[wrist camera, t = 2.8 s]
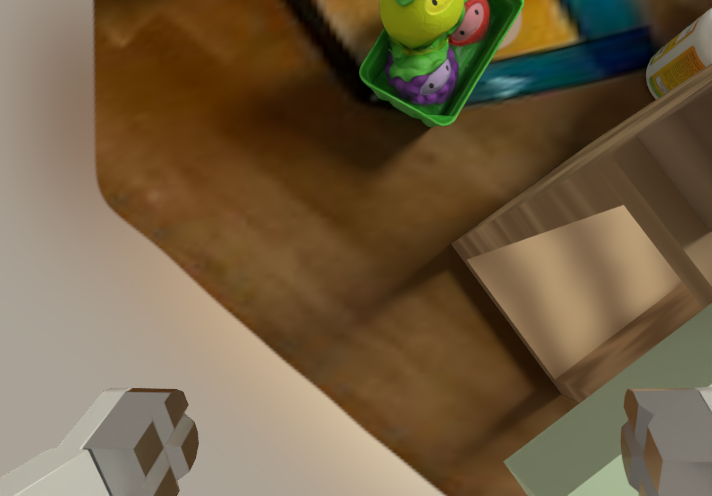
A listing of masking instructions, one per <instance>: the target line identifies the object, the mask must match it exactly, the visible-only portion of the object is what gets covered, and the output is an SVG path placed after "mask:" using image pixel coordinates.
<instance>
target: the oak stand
mask: <svg viewBox="0 0 712 496" xmlns="http://www.w3.org/2000/svg"><path fill="white" fill-rule="evenodd" d="M711 80H712V64H710V65H708V66H707V67H705V68H704V69H702V70H701V71H699V72H698V73H696V74H695V75H693V76H692V77H690V78H689V79H687V80H686V81H684V82H682V83H681V84H679V85H678V86H676V87H675V88H673V89H672V90H670V91H669V92H667V93H666V94H664V95H663V96H661V97H660V98H658V99H656V100H655V101H653V102H652V103H650V104H649V105H647V106H646V107H644V108H643V109H641V110H640V111H638V112H637V113H635V114H634V115H632V116H630V117H629V118H627V119H626V120H624V121H623V122H621V123H620V124H618V125H617V126H615V127H614V128H612V129H611V130H609V131H608V132H606V133H605V134H603V135H601V136H600V137H598V138H597V139H595V140H594V141H592V142H591V143H590V144H588V145H587V146H585V147H584V148H583V149H581V150H580V151H579V152H577V153H576V154H574V155H573V156H572V157H570V158H569V159H568V160H566V161H565V162H563V163H562V164H561V165H559V166H558V167H556V168H555V169H554V170H552V171H551V172H550V173H548V174H547V175H545V176H544V177H543V178H541V179H540V180H538V181H537V182H536V183H534V184H533V185H532V186H530V187H529V188H527V189H526V190H525V191H523V192H522V193H520V194H519V195H518V196H516V197H515V198H514V199H512V200H511V201H509V202H508V203H507V204H505V205H504V206H502V207H501V208H500V209H498V210H497V211H496V212H494V213H493V214H491V215H490V216H489V217H487V218H486V219H485V220H483V221H482V222H480V223H479V224H478V225H476V226H475V227H473V228H472V229H471V230H469V231H468V232H467V233H465V234H464V235H462V236H461V237H460V238H458V239H457V240H455V241H454V242H453V243H451V245H452V246H453V248H454V249H455V250H456V252H457V253H458V254H459V256H460V257H461V259H462V260H463V261H464V263H465V264H466V265H467V267H468V268H469V269H470V271H471V272H472V273H473V275H474V276H475V278H476V279H477V280H478V282H479V283H480V284H481V286H482V287H483V288H484V290H485V291H486V293H487V294H488V295H489V297H490V298H491V299H492V301H493V302H494V303H495V305H496V306H497V307H498V309H499V310H500V312H501V313H502V314H503V316H504V317H505V318H506V320H507V321H508V322H509V324H510V325H511V326H512V328H513V329H514V331H515V332H516V333H517V335H518V336H519V337H520V339H521V340H522V341H523V343H524V344H525V346H526V347H527V348H528V350H529V351H530V352H531V354H532V355H533V356H534V358H535V359H536V360H537V362H538V363H539V365H540V366H541V367H542V369H543V370H544V371H545V373H546V374H547V375H548V377H549V378H550V380H551V381H552V382H553V384H554V385H555V386H556V388H557V389H558V390H559V392H560V393H561V394H562V395H563V396H565V397H568V398H570V399H572V400H574V401H577V402H579V403H581V402H582V401H584V400H585V399H586V398H588V397H589V396H590V395H592V394H593V393H594V392H595V391H597V390H598V389H599V388H601V387H602V386H603V385H605V384H606V383H607V382H609V381H610V380H611V379H613V378H614V377H615V376H616V375H618V374H619V373H620V372H622V371H623V370H624V369H626V368H627V367H628V366H630V365H631V364H632V363H634V362H635V361H636V360H638V359H639V358H640V357H641V356H643V355H644V354H645V353H647V352H648V351H649V350H651V349H652V348H653V347H655V346H656V345H657V344H659V343H660V342H661V341H662V340H664V339H665V338H666V337H668V336H669V335H670V334H672V333H673V332H674V331H676V330H677V329H678V328H680V327H681V326H682V325H684V324H685V323H686V322H687V321H689V320H690V319H691V318H693V317H694V316H695V315H697V314H698V313H699V312H701V311H702V310H703V309H705V308H706V307H707V306H708V305H710V304H711V303H712V232H711V231H710V230H709V229H708V228H707V226H706V225H705V224H704V222H703V221H702V220H701V219H700V217H699V216H698V215H697V213H696V212H695V211H694V210H693V208H692V207H691V206H690V204H689V203H688V202H687V201H686V199H685V198H684V197H683V195H682V194H681V193H680V192H679V190H678V189H677V188H676V186H675V185H674V184H673V183H672V181H671V180H670V179H669V177H668V176H667V175H666V174H665V172H664V171H663V170H662V168H661V167H660V166H659V165H658V163H657V162H656V161H655V159H654V158H653V157H652V156H651V154H650V153H649V152H648V150H647V149H646V148H645V147H644V145H643V144H642V143H641V141H640V140H639V139H638V138H637V136H636V135H637V134H638V133H639V132H641V131H642V130H644V129H645V128H646V127H648V126H649V125H650V124H652V123H653V122H655V121H656V120H657V119H659V118H660V117H661V116H663V115H664V114H666V113H667V112H668V111H670V110H671V109H672V108H674V107H675V106H677V105H678V104H679V103H681V102H682V101H683V100H685V99H686V98H688V97H689V96H690V95H692V94H693V93H694V92H696V91H697V90H699V89H700V88H701V87H703V86H704V85H705V84H707V83H708V82H710V81H711Z"/></svg>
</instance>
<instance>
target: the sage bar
mask: <svg viewBox="0 0 712 496" xmlns="http://www.w3.org/2000/svg"><path fill="white" fill-rule="evenodd" d="M695 387H712V303H711V304H710V305H708V306H707V307H706V308H705V309H703V310H702V311H701V312H699V313H698V314H697V315H695V316H694V317H693V318H691V319H690V320H689V321H687V322H686V323H685V324H684V325H682V326H681V327H680V328H678V329H677V330H676V331H674V332H673V333H672V334H670V335H669V336H668V337H666V338H665V339H664V340H662V341H661V342H660V343H659V344H657V345H656V346H655V347H653V348H652V349H651V350H649V351H648V352H647V353H645V354H644V355H643V356H641V357H640V358H639V359H638V360H636V361H635V362H634V363H632V364H631V365H630V366H628V367H627V368H626V369H624V370H623V371H622V372H620V373H619V374H618V375H616V376H615V377H614V378H613V379H611V380H610V381H609V382H607V383H606V384H605V385H603V386H602V387H601V388H599V389H598V390H597V391H595V392H594V393H593V394H592V395H590V396H589V397H588V398H586V399H585V400H584V401H582V402H581V403H580V404H578V405H577V406H576V407H574V408H573V409H572V410H571V411H569V412H568V413H567V414H565V415H564V416H563V417H561V418H560V419H559V420H557V421H556V422H555V423H553V424H552V425H551V426H549V427H548V428H547V429H546V430H544V431H543V432H542V433H540V434H539V435H538V436H536V437H535V438H534V439H532V440H531V441H530V442H528V443H527V444H526V445H525V446H523V447H522V448H521V449H519V450H518V451H517V452H515V453H514V454H513V455H511V456H510V457H509V458H507V459H506V460H505V461H504V463H505V465H506V466H507V467H508V469H509V470H510V472H511V473H512V474H513V476H514V477H515V479H516V480H517V481H518V483H519V484H520V485H521V487H522V488H523V490H524V491H525V492H526V494H527V495H528V496H639V492H638V491H636V490H635V489H634V488H633V487H632V486H630V485H629V483H628V480H627V477H626V474H625V470H624V466H623V461H622V454H621V427H622V426H623V425H624V424H625V423H626V422H627V421H628V417H627V415H626V412H625V409H624V399H625V394H626V391H627V389H644V388H691V389H692V388H695Z"/></svg>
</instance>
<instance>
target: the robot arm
mask: <svg viewBox="0 0 712 496" xmlns="http://www.w3.org/2000/svg"><path fill="white" fill-rule="evenodd" d="M187 407H188V403H187V400H186V397H185V395H184V392H182V391H180V390H177V389H147V388H132V389H126V388H110V389H108V390H105V391H103V392H102V393H101V394H100V396H99V397H98V398H97V399H96V401H95V402H94V403H93V404H92V405H91V407H90V408H89V409H88V410H87V412H86V413H85V414H84V415H83V416H82V418H81V419H80V420H79V421H78V422H77V424H76V425H75V426H74V427H73V428H72V430H71V431H70V432H69V433H68V435H67V436H66V437H65V438H64V440H63V441H62V442H61V443H60V444H59V446H58V447H57V448H56V449H47V450H46V451H44V452H42V453H41V454H39V455H37V456H36V457H34V458H32V459H31V460H29V461H27V462H26V463H24V464H22V465H21V466H19V467H17V468H15V469H14V470H12V471H11V472H9V473H7V474H5V475H4V476H2V477H0V496H177V495H178V493H179V486H178V482H177V480H179V479H180V478H181V477H182V476H184V475H185V474H187V473H188V472H189V471H190V469H191V467H192V465H193V463H194V461H195V459H196V455H197V449H198V444H199V442H198V431H197V428H196V425H195V422H194V421H193V420H192V419H190V418H189V417H188V416H187V415H186V414H185V411H186V409H187ZM624 409H625V412H626V415H627V417H628V421H627V422H626V423H625V424H624V425H623V426H622V427H621V454H622V461H623V466H624V470H625V474H626V477H627V480H628V483H629V485H630V486H632V487H633V488H634V489H635V490H636V491H638V492H639V496H712V387H695V388H692V389H691V388H644V389H627V391H626V394H625V399H624Z"/></svg>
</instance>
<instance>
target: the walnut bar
mask: <svg viewBox="0 0 712 496" xmlns="http://www.w3.org/2000/svg"><path fill="white" fill-rule="evenodd" d="M636 136H637V138H638V139H639V140H640V141H641V143H642V144H643V145H644V147H645V148H646V149H647V150H648V152H649V153H650V154H651V156H652V157H653V158H654V159H655V161H656V162H657V163H658V165H659V166H660V167H661V168H662V170H663V171H664V172H665V174H666V175H667V176H668V177H669V179H670V180H671V181H672V183H673V184H674V185H675V186H676V188H677V189H678V190H679V192H680V193H681V194H682V195H683V197H684V198H685V199H686V201H687V202H688V203H689V204H690V206H691V207H692V208H693V210H694V211H695V212H696V213H697V215H698V216H699V217H700V219H701V220H702V221H703V222H704V224H705V225H706V226H707V228H708V229H709V230H710V231H711V232H712V80H711V81H710V82H708V83H707V84H705V85H704V86H703V87H701V88H700V89H699V90H697V91H696V92H694V93H693V94H692V95H690V96H689V97H688V98H686V99H685V100H683V101H682V102H681V103H679V104H678V105H677V106H675V107H674V108H672V109H671V110H670V111H668V112H667V113H666V114H664V115H663V116H661V117H660V118H659V119H657V120H656V121H655V122H653V123H652V124H650V125H649V126H648V127H646V128H645V129H644V130H642V131H641V132H639V133H638V134H637V135H636Z"/></svg>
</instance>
